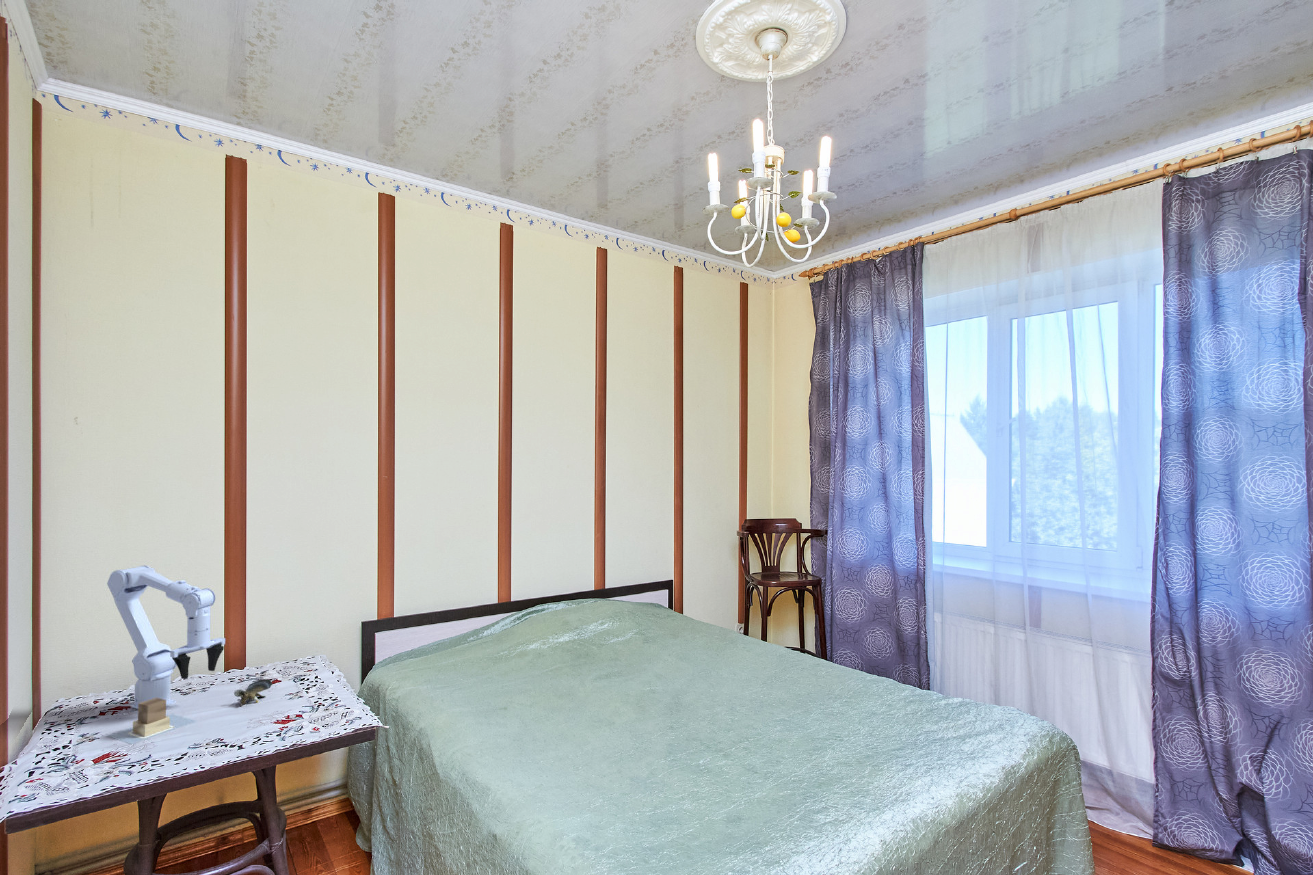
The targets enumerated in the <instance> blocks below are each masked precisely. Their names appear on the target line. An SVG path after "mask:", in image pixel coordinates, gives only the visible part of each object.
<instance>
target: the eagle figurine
mask: <svg viewBox="0 0 1313 875" xmlns="http://www.w3.org/2000/svg"><path fill="white" fill-rule="evenodd" d="M271 686H273V682H272V680H270V679H267V678H261V679H258V680H256V681H254V682H252V683H250V684H249V685H248V686H247V687H246V689H245V691H244V690H242V689H241V688H239V689H236V690H235V691H234V692H233V695H234V697H237V698H238V699H237V701H240V707H243V706H244V705H245V704H246V701H247V700H250V701H253V702H256V703H257V704H259V699H258V697H265V698H266V697H267V696H266V695H262V694H260V693H261V692H264V691H266V690H269V689H270V688H271ZM239 697H240V698H239Z"/></svg>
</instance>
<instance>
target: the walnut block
mask: <svg viewBox="0 0 1313 875" xmlns="http://www.w3.org/2000/svg"><path fill="white" fill-rule="evenodd" d="M166 713H167V706H166V700H164V699H160V698H154V699H151V700H148V701H144V702H141V703H138V709H137V720H138V722H141V723H145V724H150V723H153V722H156V721H159V720H161V719H164V718H166V716H167V714H166Z"/></svg>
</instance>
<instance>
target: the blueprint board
mask: <svg viewBox="0 0 1313 875" xmlns="http://www.w3.org/2000/svg"><path fill="white" fill-rule="evenodd" d="M166 716H167V717H170V728H168V729H165V730H162V731H160V732H157V733H154V734H151V735H148V736H145V737H144V736H141V735H138V734H135V733H133V726H132V727H130V728H127V729H124V730H120V731H118V732H115V733H112V734H109V735H107V737H109V738H112V739H116V740H117V741H118V740H119V741H121V742H124V743H127V744H129V745H134V744H136V743H139V742H142V741H145V740H148V739H151V738H154V737H157V736H159V735H162V734H165V733H167V732H171V731H174V730H176V729H179V728H182V727H184V726H187V725H190V724H193V723H196V722H197V720H194V719H191V718H187V717H184V716H180V715H177V714H174V713H173V714H172V713H171V714H169V715H166Z"/></svg>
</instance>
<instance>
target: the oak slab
mask: <svg viewBox="0 0 1313 875" xmlns="http://www.w3.org/2000/svg"><path fill="white" fill-rule="evenodd" d="M167 716H168V715H166V718H164V719H161V720H159V721H156V722H153V723H150V724H145V723H141V722H138V719H137V720H134V721H133V722H132V727H133V733H135V734H138V735H141V736H144V737H145V736H148V735H151V734H154V733H157V732H160V731H162V730H165V729H168V728H170V717H167Z"/></svg>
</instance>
